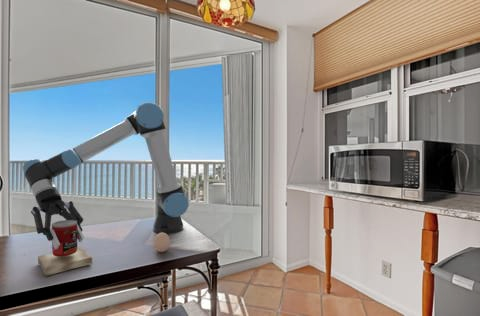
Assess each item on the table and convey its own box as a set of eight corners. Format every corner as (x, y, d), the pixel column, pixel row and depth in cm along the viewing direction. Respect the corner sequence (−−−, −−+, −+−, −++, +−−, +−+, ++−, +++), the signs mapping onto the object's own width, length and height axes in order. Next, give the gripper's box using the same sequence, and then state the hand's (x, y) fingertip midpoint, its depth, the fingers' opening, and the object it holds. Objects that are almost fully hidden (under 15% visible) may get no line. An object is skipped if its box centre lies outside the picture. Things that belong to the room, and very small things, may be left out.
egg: (172, 248, 117) (172, 230, 117) (167, 254, 110) (167, 235, 110) (156, 248, 117) (156, 230, 117) (151, 254, 111) (151, 235, 110)
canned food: (65, 257, 95) (65, 226, 95) (46, 255, 97) (46, 224, 97) (82, 249, 103) (82, 220, 102) (64, 248, 104) (64, 219, 104)
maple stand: (81, 254, 110) (81, 246, 110) (92, 265, 100) (92, 257, 100) (38, 264, 100) (37, 256, 100) (45, 277, 90) (45, 268, 90)
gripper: (70, 196, 116) (93, 241, 108) (11, 204, 98) (33, 258, 91) (77, 184, 113) (101, 229, 105) (17, 191, 95) (41, 246, 88)
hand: (70, 243), depth 98 cm, fingers closed on canned food, 8 cm apart
